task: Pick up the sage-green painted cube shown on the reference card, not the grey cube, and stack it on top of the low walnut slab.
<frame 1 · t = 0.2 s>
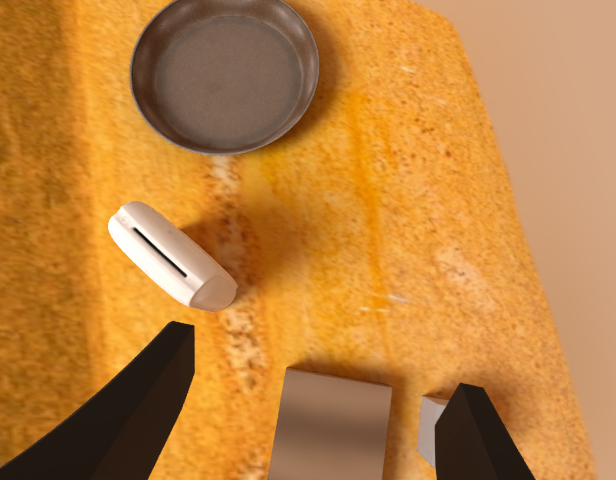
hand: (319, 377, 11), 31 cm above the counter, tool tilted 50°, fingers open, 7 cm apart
walnut slab: (328, 428, 41), on the counter
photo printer: (196, 270, 44), on the counter
grey cube: (444, 426, 41), on the counter
plant saucer: (229, 83, 49), on the counter
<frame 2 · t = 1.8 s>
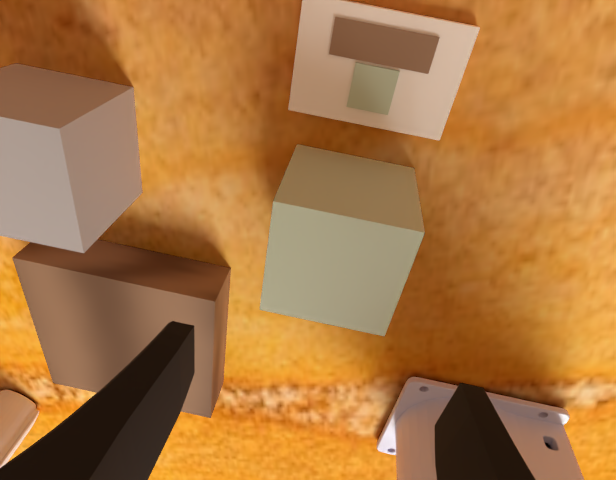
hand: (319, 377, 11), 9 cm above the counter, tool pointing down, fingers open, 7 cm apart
walnut slab: (148, 309, 25), on the counter
reference card: (376, 69, 15), on the counter
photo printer: (7, 414, 35), on the counter
grey cube: (84, 132, 19), on the counter
sage cube: (343, 205, 19), on the counter
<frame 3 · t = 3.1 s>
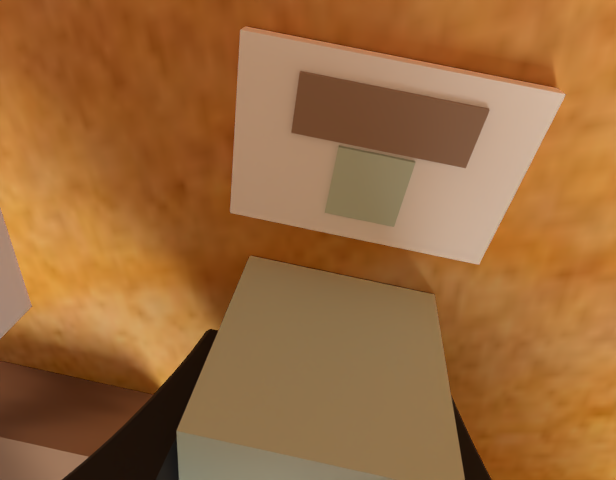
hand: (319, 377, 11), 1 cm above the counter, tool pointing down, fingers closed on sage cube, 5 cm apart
walnut slab: (70, 430, 19), on the counter
reference card: (374, 154, 9), on the counter
sage cube: (325, 337, 13), on the counter, touching gripper
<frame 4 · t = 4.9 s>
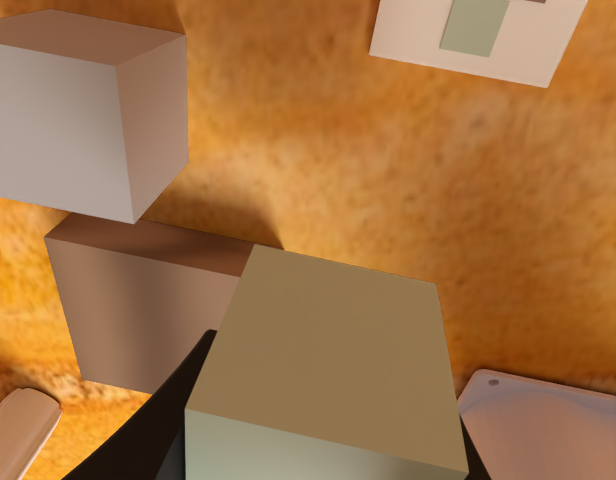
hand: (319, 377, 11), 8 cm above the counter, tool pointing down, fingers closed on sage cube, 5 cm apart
walnut slab: (186, 297, 23), on the counter
reference card: (477, 2, 13), on the counter
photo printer: (27, 414, 33), on the counter
grey cube: (126, 91, 17), on the counter
sage cube: (327, 326, 13), point 7 cm above the counter, touching gripper
when the fingers open (5 cm above the counter, at t = 6.9 s): sage cube drops 1 cm, resting on walnut slab.
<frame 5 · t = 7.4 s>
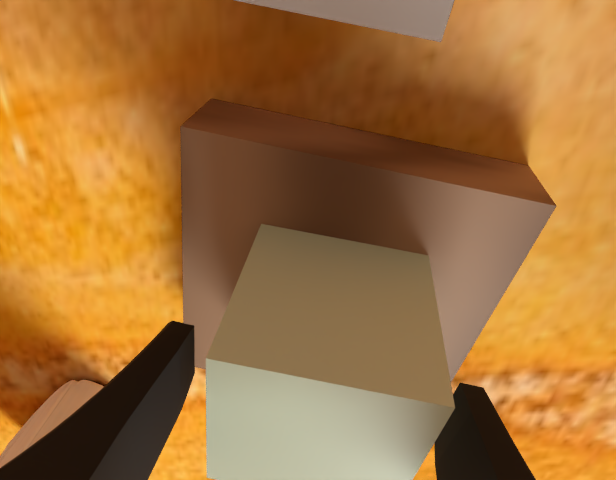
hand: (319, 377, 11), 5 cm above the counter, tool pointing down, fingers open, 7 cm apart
walnut slab: (337, 249, 16), on the counter, touching sage cube
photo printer: (76, 414, 26), on the counter
sage cube: (330, 300, 14), point 2 cm above the counter, touching walnut slab
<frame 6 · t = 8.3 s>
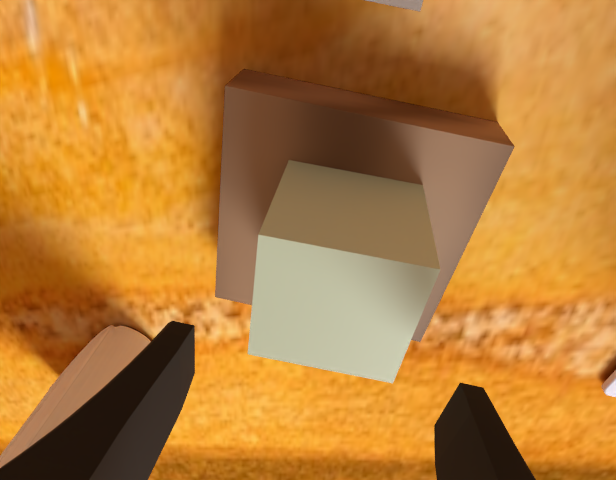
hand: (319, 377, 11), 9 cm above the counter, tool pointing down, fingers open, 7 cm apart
walnut slab: (343, 199, 20), on the counter
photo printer: (110, 362, 29), on the counter
sage cube: (342, 228, 17), point 2 cm above the counter
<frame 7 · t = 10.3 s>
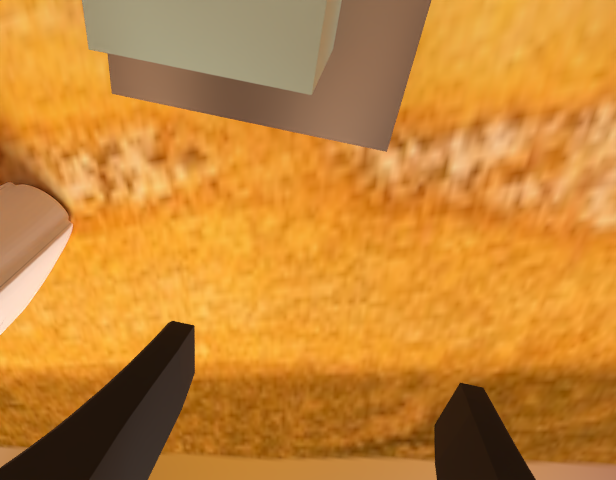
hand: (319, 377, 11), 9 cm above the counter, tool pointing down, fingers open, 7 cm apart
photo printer: (23, 247, 24), on the counter
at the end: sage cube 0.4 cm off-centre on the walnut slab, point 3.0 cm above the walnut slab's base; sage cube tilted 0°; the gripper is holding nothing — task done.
